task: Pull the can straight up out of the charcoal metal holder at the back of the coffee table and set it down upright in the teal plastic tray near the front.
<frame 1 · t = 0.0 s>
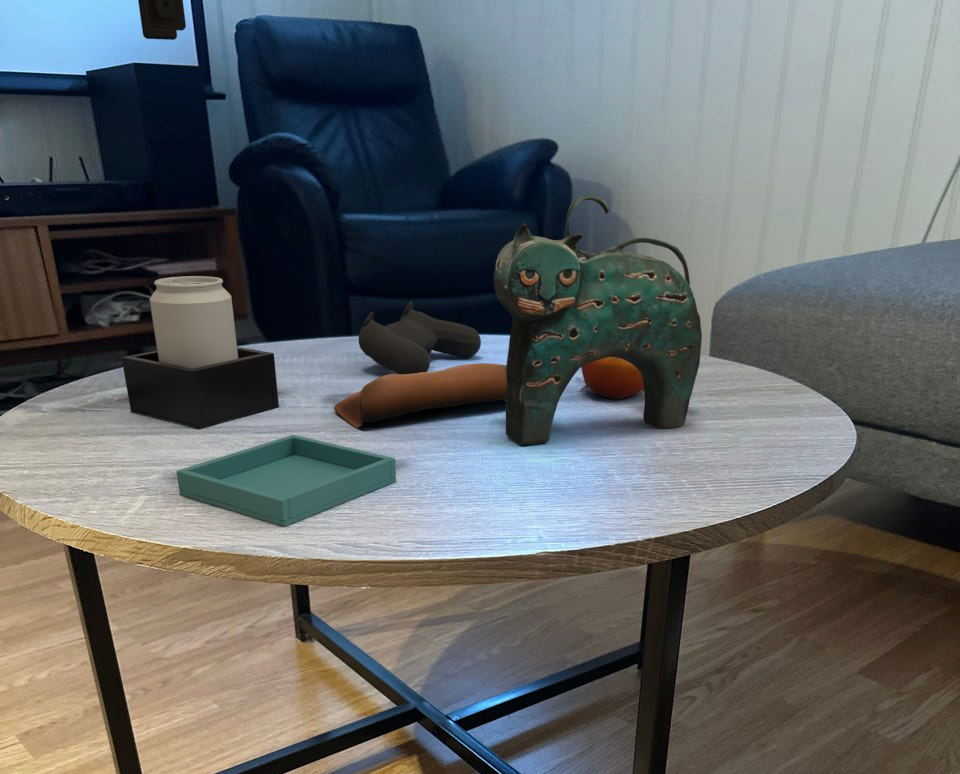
hand: (164, 34, 88), 32 cm above the table, tool pointing down, fingers open, 9 cm apart
gaming controller: (418, 366, 112), on the table
sunglasses case: (428, 412, 94), on the table
can: (205, 408, 93), resting on holder
ceramic cat: (591, 433, 87), on the table
holder: (205, 409, 93), on the table
fruit: (615, 396, 100), on the table
tray: (290, 488, 73), on the table
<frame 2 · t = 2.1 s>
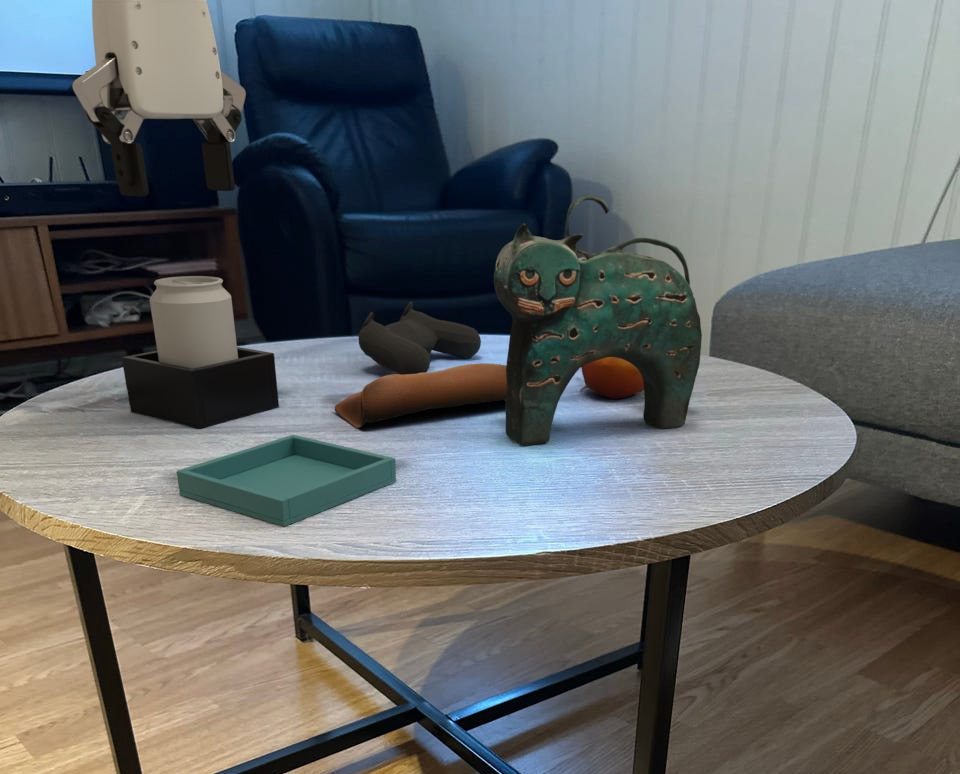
hand: (179, 192, 85), 20 cm above the table, tool pointing down, fingers open, 9 cm apart
nothing on the table moved.
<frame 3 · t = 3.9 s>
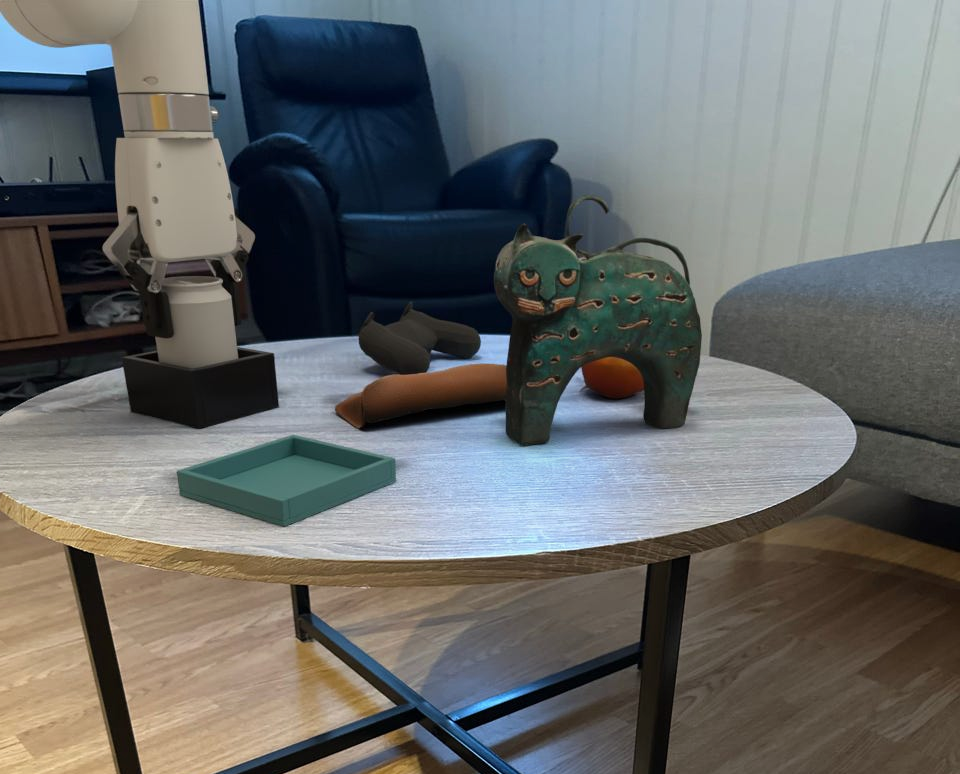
hand: (195, 329, 90), 8 cm above the table, tool pointing down, fingers closed on can, 7 cm apart
can: (205, 408, 93), resting on holder, touching gripper
everything else where it was.
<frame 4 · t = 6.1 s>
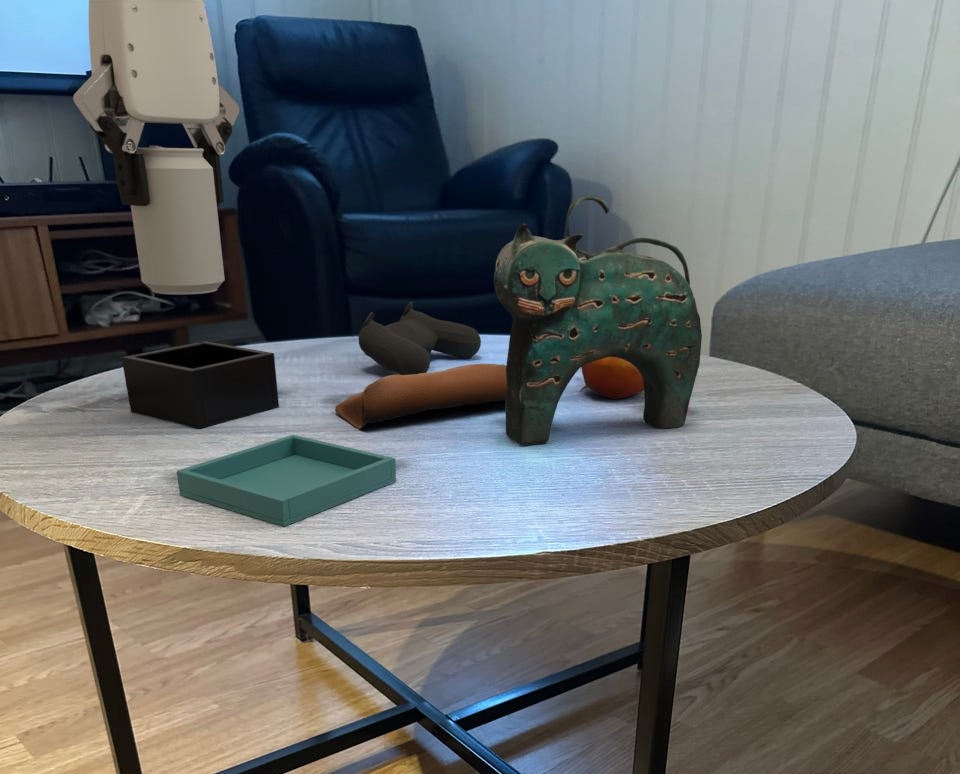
hand: (174, 202, 84), 19 cm above the table, tool pointing down, fingers closed on can, 7 cm apart
can: (185, 292, 88), point 11 cm above the table, touching gripper
everything else where it was.
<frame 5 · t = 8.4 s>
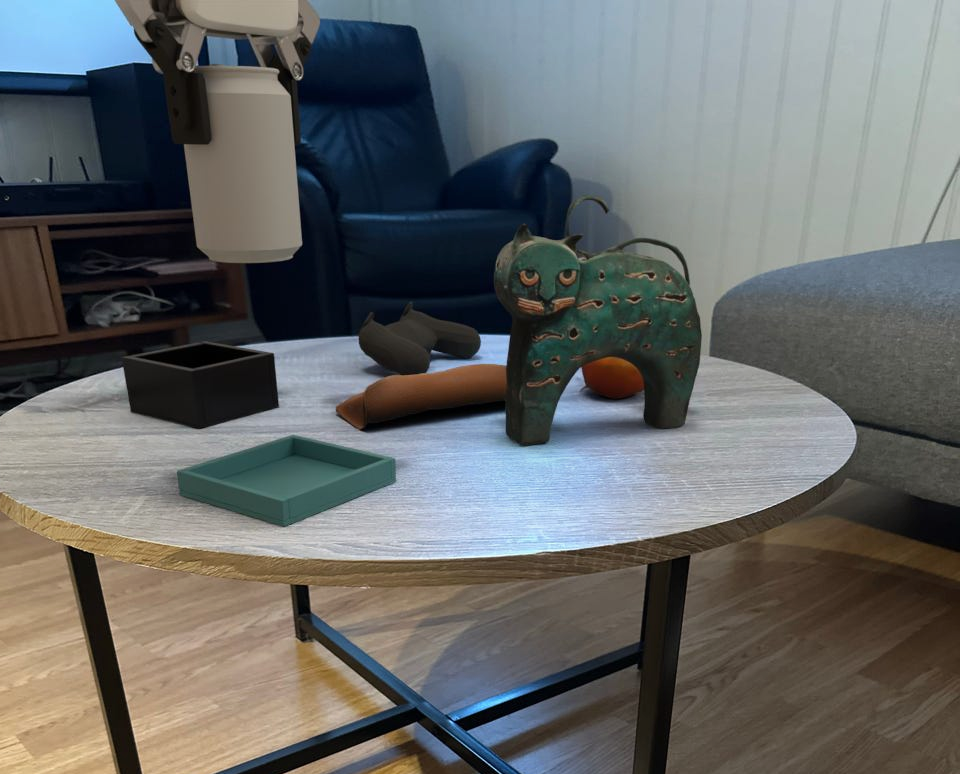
hand: (239, 142, 65), 24 cm above the table, tool pointing down, fingers closed on can, 7 cm apart
can: (251, 261, 68), point 16 cm above the table, touching gripper
everything else where it was.
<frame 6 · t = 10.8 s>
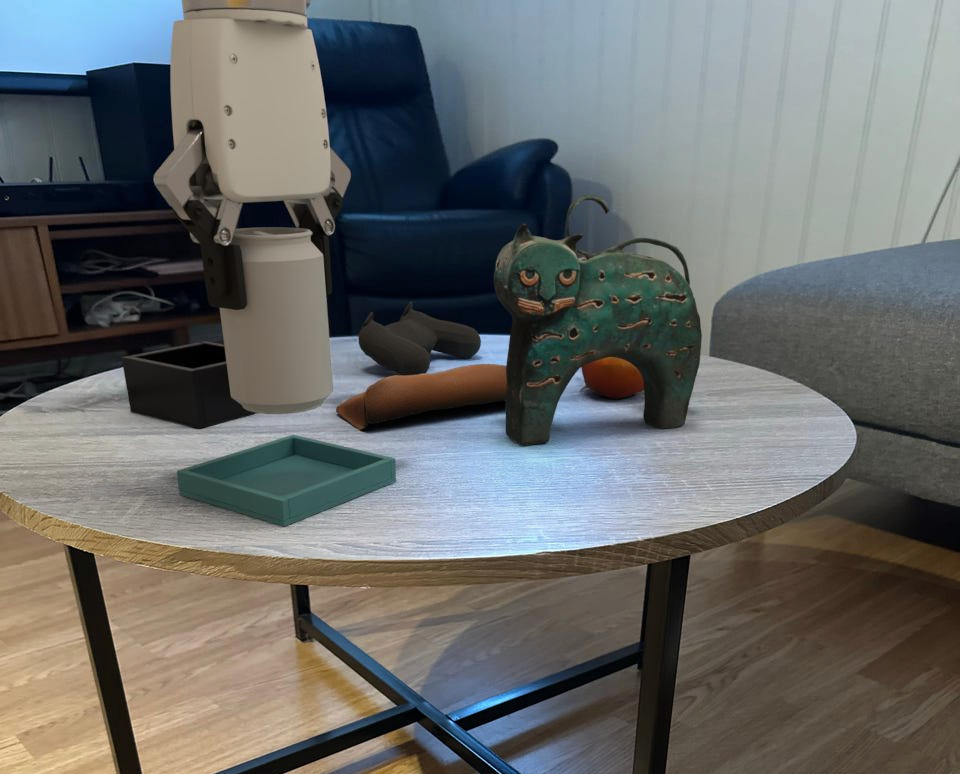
hand: (272, 298, 66), 14 cm above the table, tool pointing down, fingers closed on can, 7 cm apart
can: (283, 406, 70), point 6 cm above the table, touching gripper
everything else where it was.
when the fingers open (8 cm above the table, at t = 12.8 s): can stays where it is, resting on tray.
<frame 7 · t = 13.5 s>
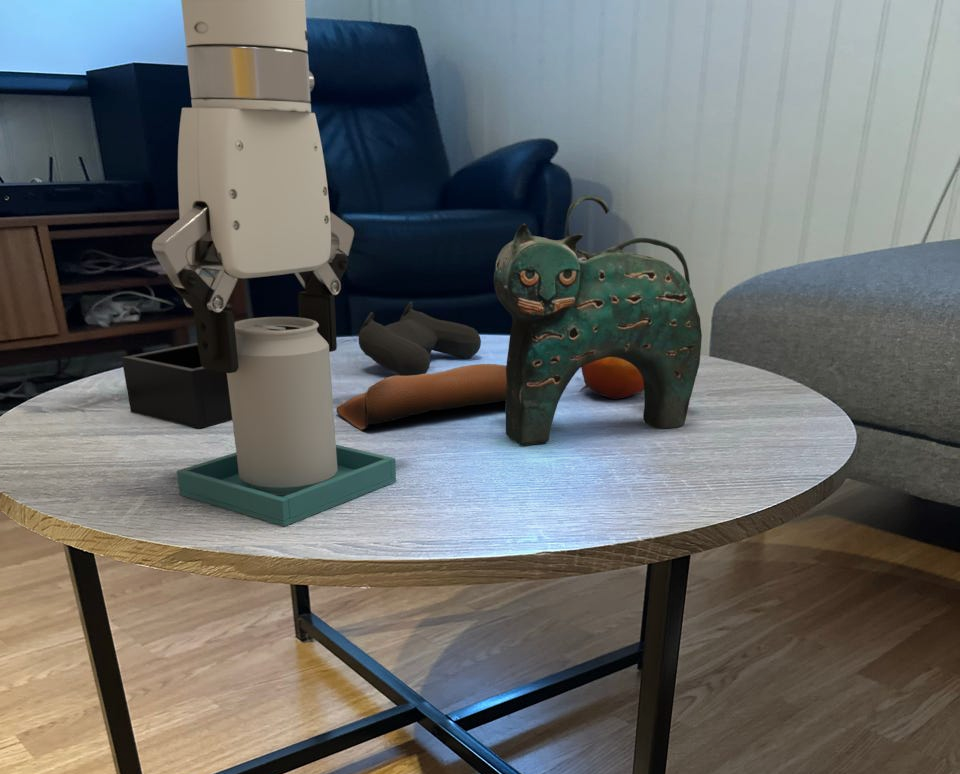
hand: (271, 359, 68), 10 cm above the table, tool pointing down, fingers open, 9 cm apart
can: (289, 485, 72), resting on tray
everything else where it was.
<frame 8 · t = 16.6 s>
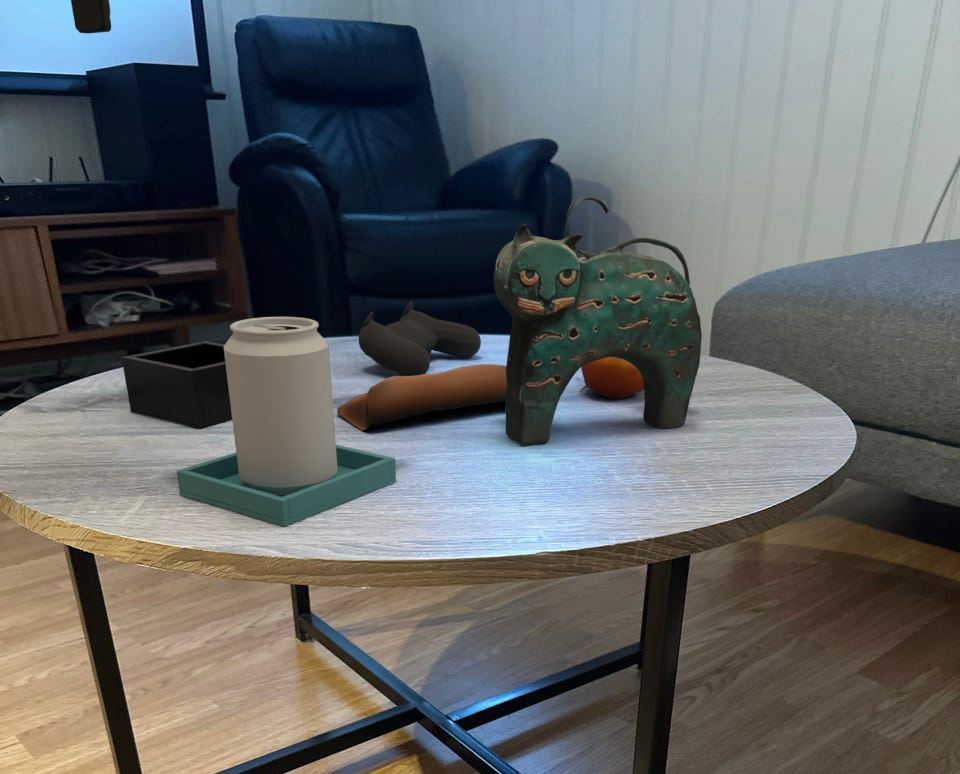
hand: (29, 25, 61), 30 cm above the table, tool pointing down, fingers open, 9 cm apart
nothing on the table moved.
at the end: can inside the target area in the tray (0.0 cm from its centre), point 0.2 cm above the tray's base; can tilted 0°; can touching tray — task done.
